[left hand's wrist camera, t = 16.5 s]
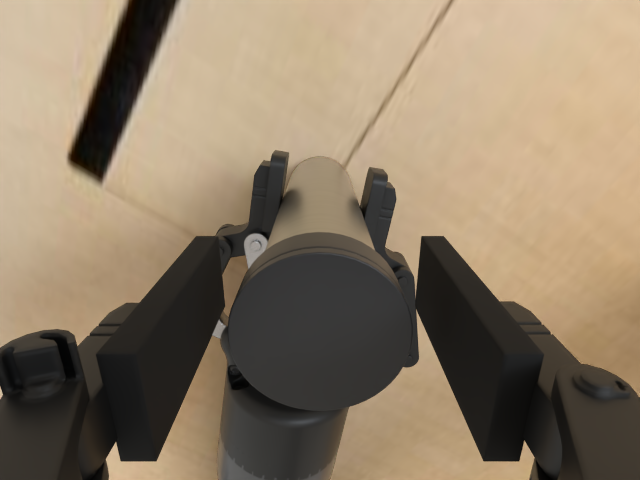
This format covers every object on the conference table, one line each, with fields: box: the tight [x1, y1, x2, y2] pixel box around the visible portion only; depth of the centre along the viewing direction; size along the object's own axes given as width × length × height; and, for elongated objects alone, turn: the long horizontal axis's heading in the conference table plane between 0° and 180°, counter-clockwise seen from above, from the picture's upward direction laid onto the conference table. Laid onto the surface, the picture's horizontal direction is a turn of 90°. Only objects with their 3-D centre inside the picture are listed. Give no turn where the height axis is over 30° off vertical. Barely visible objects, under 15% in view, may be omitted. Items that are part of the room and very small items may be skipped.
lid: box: [227, 232, 413, 411], centre depth 11 cm, size 5×5×2 cm
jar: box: [265, 157, 375, 250], centre depth 19 cm, size 4×4×16 cm
